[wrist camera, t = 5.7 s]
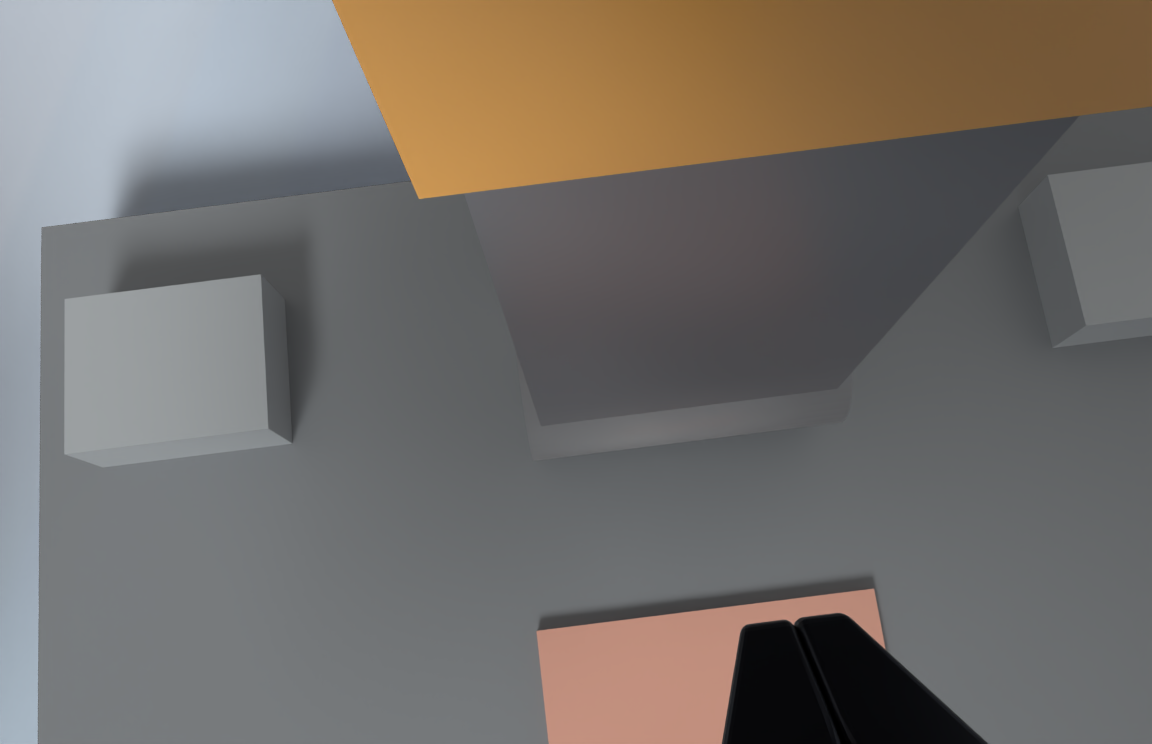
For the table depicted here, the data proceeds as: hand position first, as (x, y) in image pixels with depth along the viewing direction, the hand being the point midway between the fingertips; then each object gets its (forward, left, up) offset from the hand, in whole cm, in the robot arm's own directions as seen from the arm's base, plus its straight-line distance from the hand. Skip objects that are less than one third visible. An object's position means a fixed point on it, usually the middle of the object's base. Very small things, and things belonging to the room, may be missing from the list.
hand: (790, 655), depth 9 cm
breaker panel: (+1, +1, -9) cm, 9 cm away
